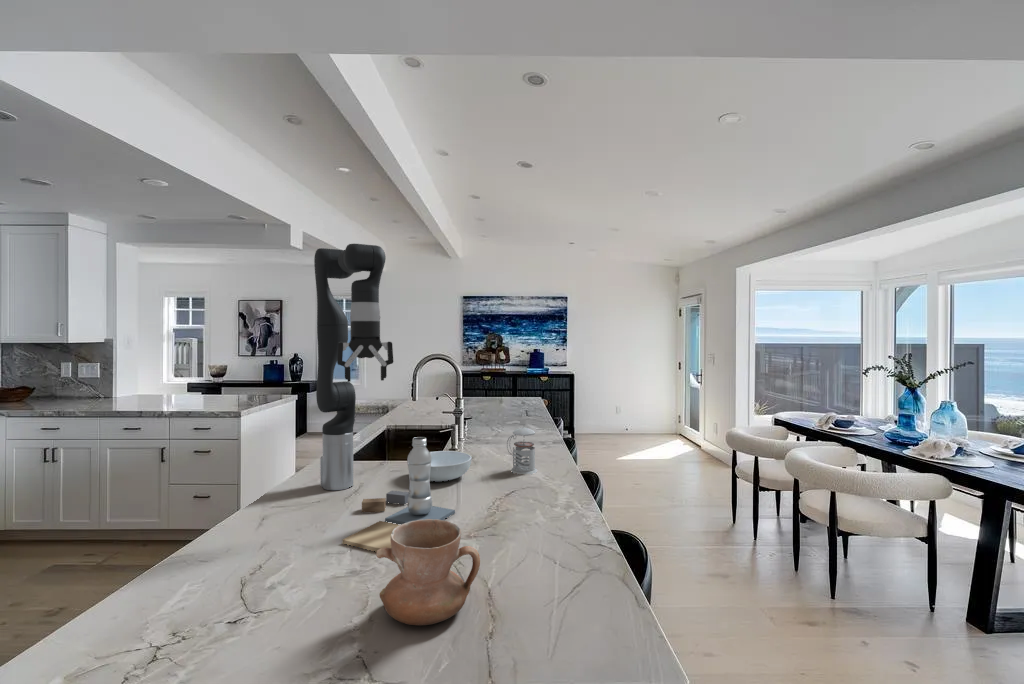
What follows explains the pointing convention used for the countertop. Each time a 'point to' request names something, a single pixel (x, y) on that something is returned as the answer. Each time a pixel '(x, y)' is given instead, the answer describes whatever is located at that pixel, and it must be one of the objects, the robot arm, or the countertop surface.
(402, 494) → the charcoal brick
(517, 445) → the french press
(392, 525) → the oak mat
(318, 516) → the countertop surface
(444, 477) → the serving bowl
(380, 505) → the walnut brick
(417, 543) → the ceramic jug
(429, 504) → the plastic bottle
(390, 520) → the slate mat
